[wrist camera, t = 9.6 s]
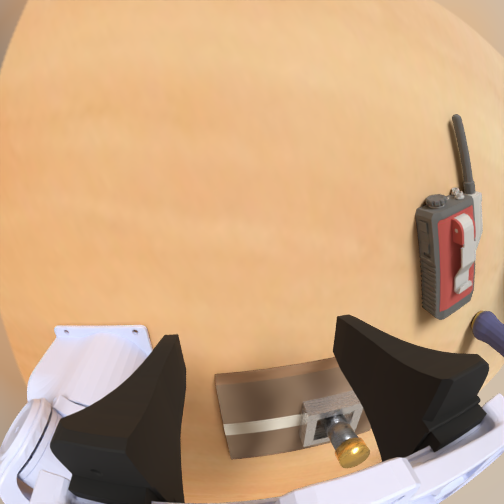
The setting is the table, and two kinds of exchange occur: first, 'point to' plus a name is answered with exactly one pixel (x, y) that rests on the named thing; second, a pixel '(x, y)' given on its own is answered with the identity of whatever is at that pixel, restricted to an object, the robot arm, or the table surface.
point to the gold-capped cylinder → (345, 441)
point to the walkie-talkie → (450, 240)
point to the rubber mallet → (489, 330)
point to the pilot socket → (327, 415)
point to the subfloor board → (275, 405)
